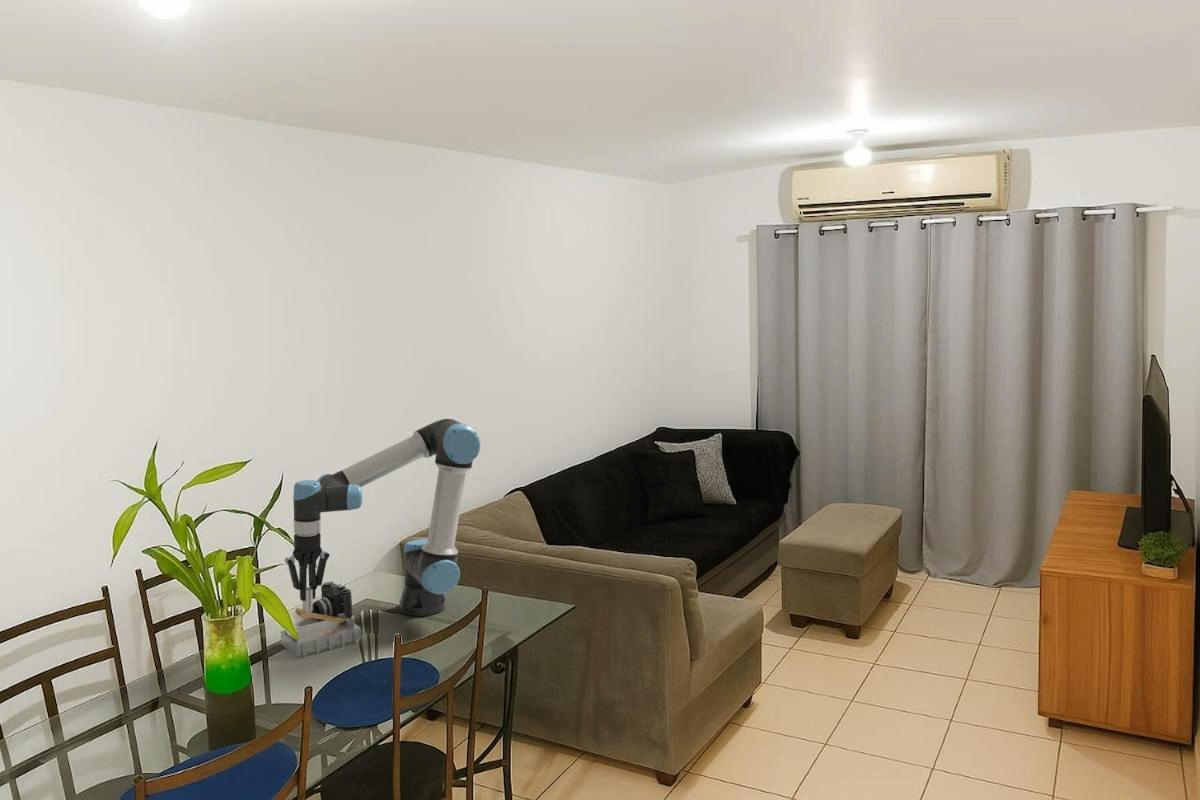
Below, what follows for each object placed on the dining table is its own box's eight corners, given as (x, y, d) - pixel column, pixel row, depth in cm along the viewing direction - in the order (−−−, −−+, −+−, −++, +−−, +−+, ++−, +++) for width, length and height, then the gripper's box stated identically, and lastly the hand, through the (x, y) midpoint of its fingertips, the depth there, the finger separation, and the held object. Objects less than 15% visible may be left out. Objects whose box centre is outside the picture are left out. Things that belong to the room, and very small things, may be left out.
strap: (343, 620, 288) (345, 616, 288) (350, 625, 284) (352, 621, 284) (294, 612, 277) (296, 607, 277) (301, 617, 274) (303, 612, 274)
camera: (302, 615, 302) (301, 585, 301) (331, 606, 311) (331, 577, 309) (326, 627, 293) (325, 596, 292) (356, 617, 301) (355, 588, 300)
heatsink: (342, 627, 293) (341, 607, 292) (362, 641, 282) (361, 620, 281) (279, 643, 280) (279, 622, 279) (298, 658, 270) (297, 637, 269)
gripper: (323, 526, 281) (324, 601, 284) (279, 533, 273) (280, 610, 276) (334, 532, 276) (334, 609, 279) (289, 539, 267) (290, 618, 270)
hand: (307, 609), depth 277 cm, fingers closed
